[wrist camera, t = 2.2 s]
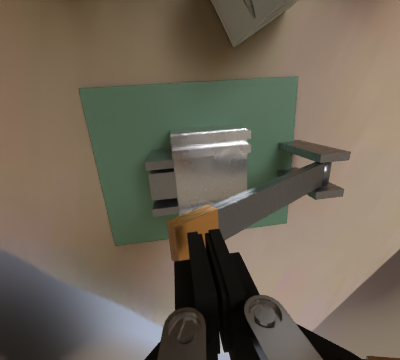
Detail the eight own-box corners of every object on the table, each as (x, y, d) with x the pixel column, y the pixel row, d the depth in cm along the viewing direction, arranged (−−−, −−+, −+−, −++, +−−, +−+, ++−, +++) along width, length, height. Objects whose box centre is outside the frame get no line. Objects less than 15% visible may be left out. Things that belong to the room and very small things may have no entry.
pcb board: (79, 88, 22) (78, 88, 22) (296, 76, 25) (298, 76, 25) (116, 244, 29) (115, 245, 29) (285, 221, 32) (286, 223, 31)
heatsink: (149, 131, 25) (138, 140, 17) (300, 118, 27) (355, 122, 19) (159, 206, 28) (155, 244, 20) (294, 190, 30) (338, 219, 22)
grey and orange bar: (164, 219, 12) (177, 229, 11) (320, 157, 22) (335, 159, 21) (169, 257, 13) (182, 270, 11) (318, 180, 23) (331, 182, 22)
